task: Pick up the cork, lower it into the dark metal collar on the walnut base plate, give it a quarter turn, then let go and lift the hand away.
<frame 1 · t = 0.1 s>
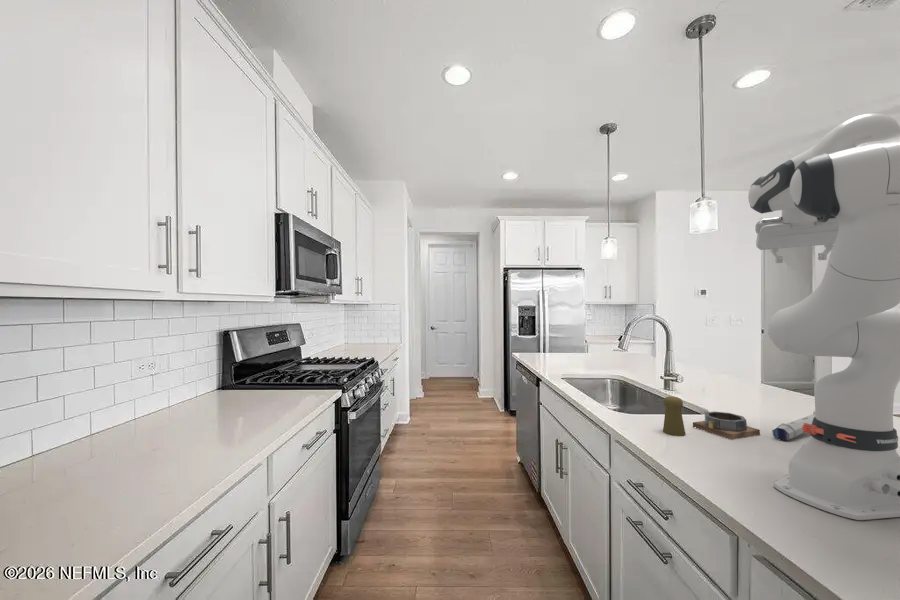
hand: (800, 261, 109), 52 cm above the countertop, tool tilted 20°, fingers open, 8 cm apart
cork: (674, 433, 114), on the countertop
collar: (723, 421, 115), on the base plate, point 3 cm above the countertop
grey and blue bar: (805, 435, 111), on the countertop
base plate: (725, 430, 115), on the countertop
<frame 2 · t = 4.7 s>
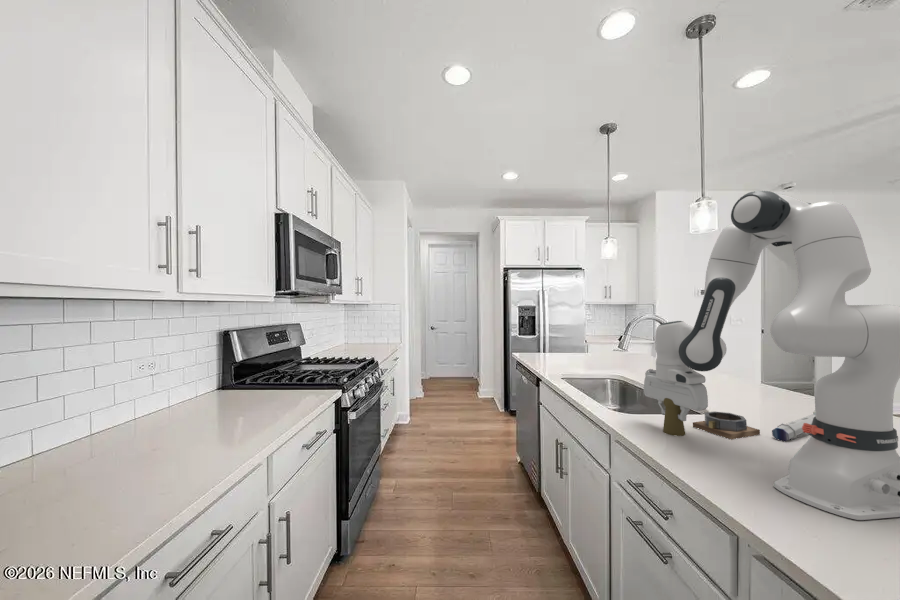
hand: (673, 417, 114), 5 cm above the countertop, tool pointing down, fingers closed on cork, 4 cm apart
cork: (674, 433, 114), on the countertop, touching gripper
everything else where it was.
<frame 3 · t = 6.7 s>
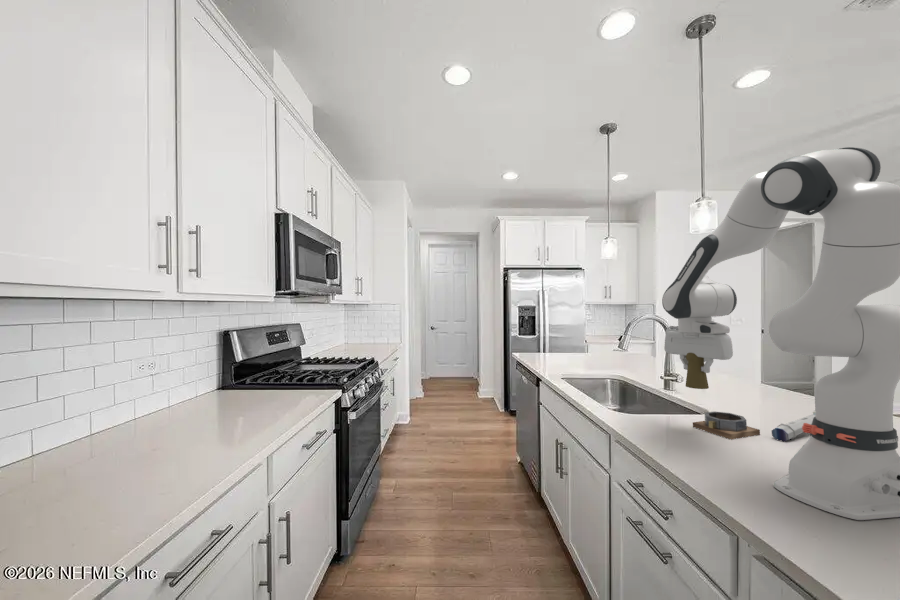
hand: (696, 371, 115), 19 cm above the countertop, tool pointing down, fingers closed on cork, 4 cm apart
cork: (697, 387, 114), point 14 cm above the countertop, touching gripper
everything else where it was.
when the fingers open (8 cm above the countertop, at t = 9.1 s): cork stays where it is, resting on base plate.
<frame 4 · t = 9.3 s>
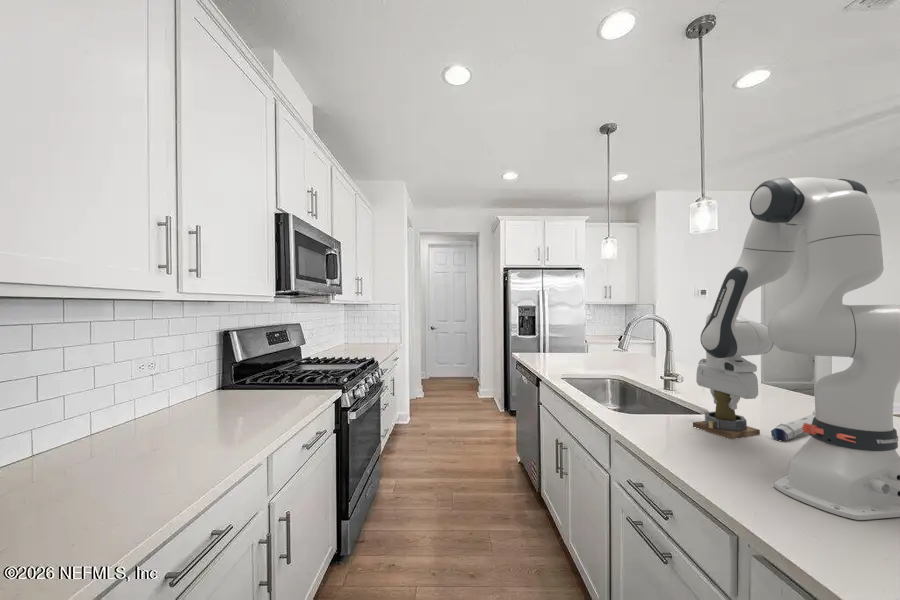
hand: (725, 406, 115), 8 cm above the countertop, tool pointing down, fingers open, 4 cm apart
cork: (725, 426, 115), point 1 cm above the countertop, touching base plate, gripper
everything else where it was.
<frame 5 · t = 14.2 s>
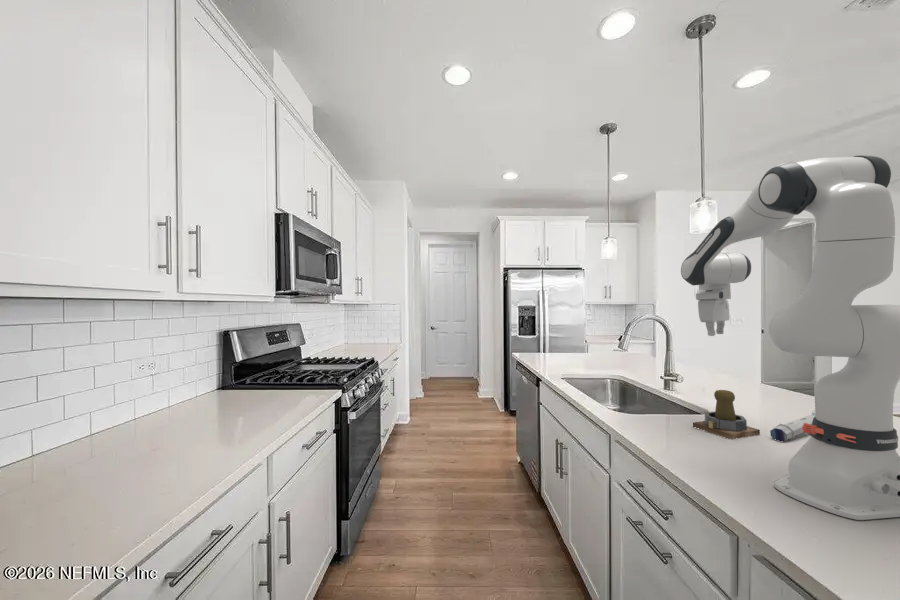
hand: (715, 334, 125), 29 cm above the countertop, tool pointing down, fingers open, 8 cm apart
cork: (725, 426, 115), point 1 cm above the countertop, touching base plate
at the end: cork 0.2 cm off-centre on the collar, point 1.3 cm above the collar's base; cork tilted 0°; the gripper is holding nothing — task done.
